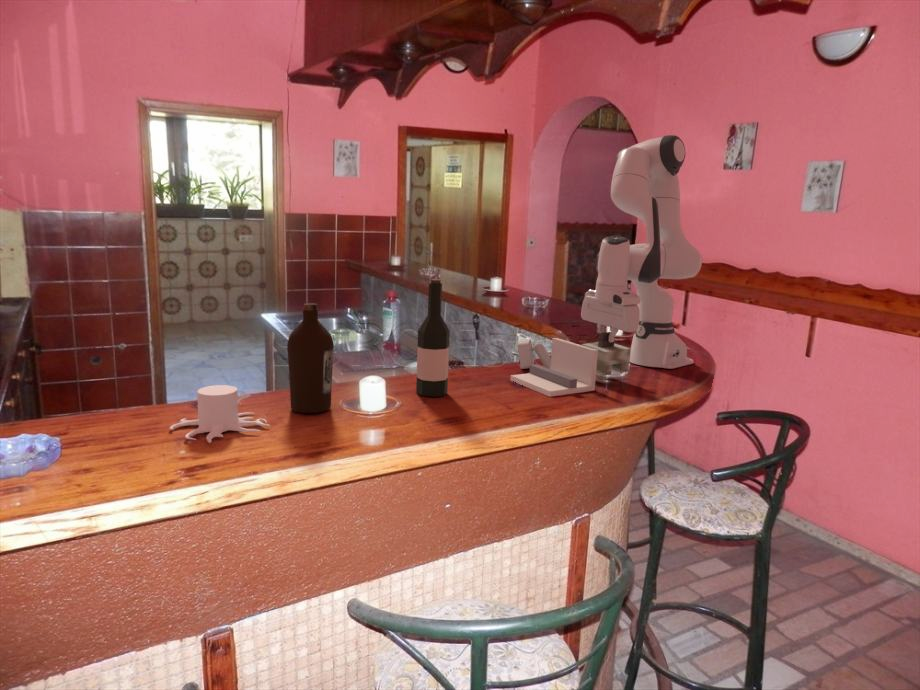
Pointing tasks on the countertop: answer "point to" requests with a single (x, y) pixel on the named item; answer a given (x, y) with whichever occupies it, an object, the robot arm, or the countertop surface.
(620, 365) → the cabinet block
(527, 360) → the white block with rod
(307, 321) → the olive oil
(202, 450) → the countertop surface
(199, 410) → the tree stump
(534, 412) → the countertop surface
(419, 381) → the wine bottle
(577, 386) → the board
